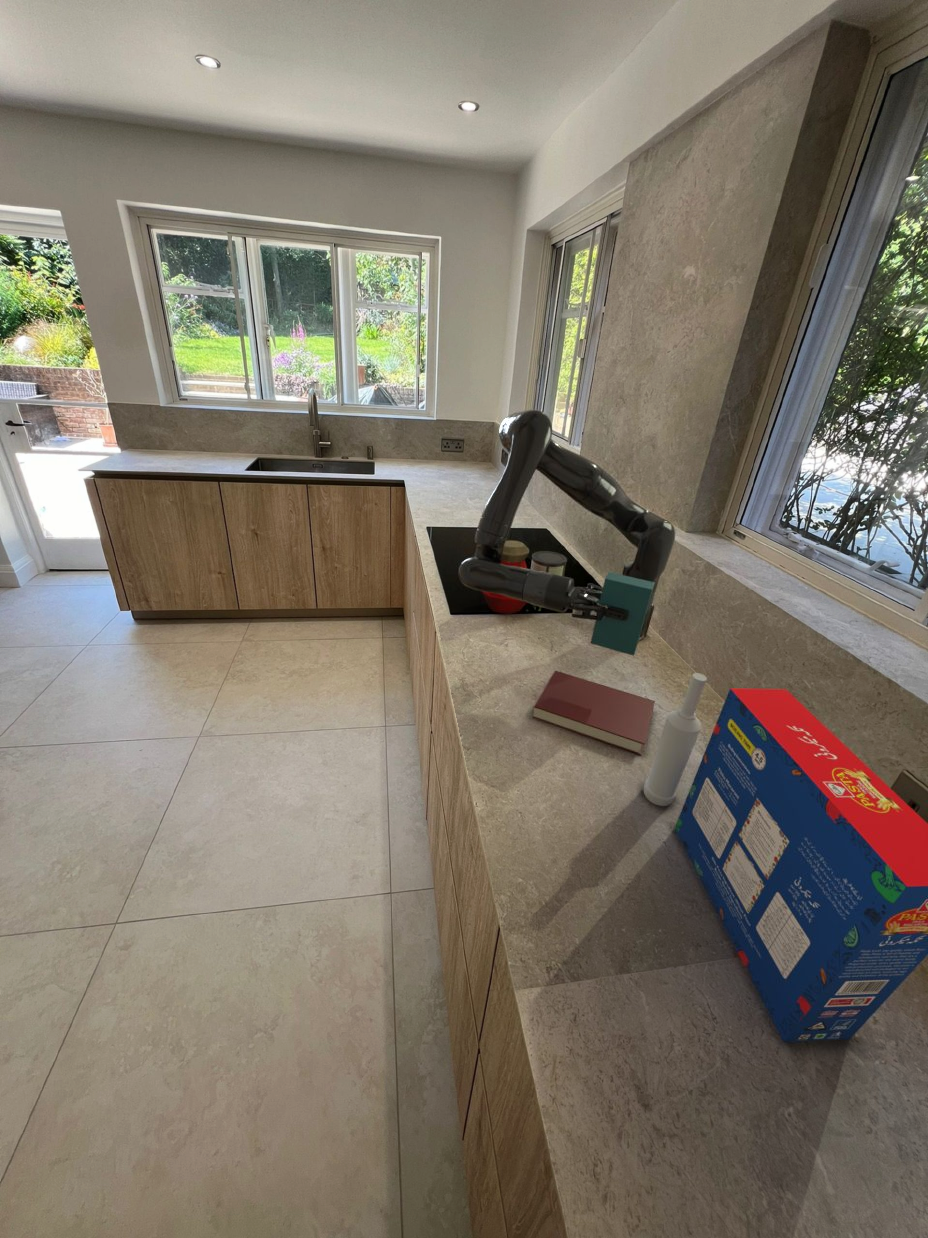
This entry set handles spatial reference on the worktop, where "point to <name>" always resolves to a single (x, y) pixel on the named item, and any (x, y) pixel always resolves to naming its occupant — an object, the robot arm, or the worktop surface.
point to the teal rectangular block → (628, 597)
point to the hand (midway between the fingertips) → (628, 611)
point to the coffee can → (549, 562)
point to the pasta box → (806, 865)
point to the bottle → (675, 746)
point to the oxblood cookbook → (595, 711)
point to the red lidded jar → (511, 557)
